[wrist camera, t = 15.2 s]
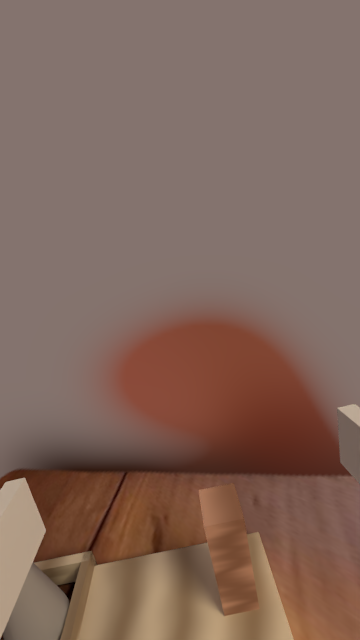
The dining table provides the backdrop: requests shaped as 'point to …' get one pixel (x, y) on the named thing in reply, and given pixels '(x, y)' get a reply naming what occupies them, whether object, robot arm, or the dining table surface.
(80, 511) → the dining table surface
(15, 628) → the salt shaker
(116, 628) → the wooden tray with post
